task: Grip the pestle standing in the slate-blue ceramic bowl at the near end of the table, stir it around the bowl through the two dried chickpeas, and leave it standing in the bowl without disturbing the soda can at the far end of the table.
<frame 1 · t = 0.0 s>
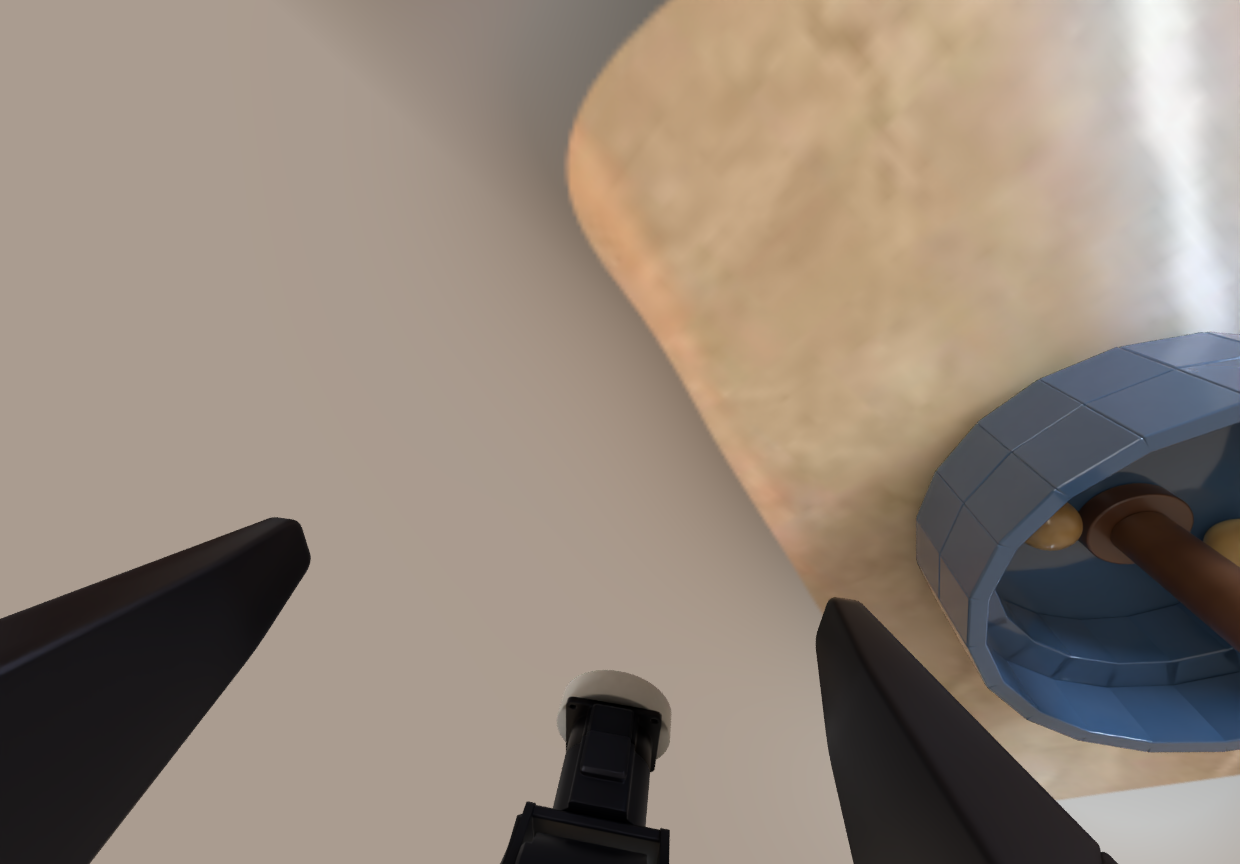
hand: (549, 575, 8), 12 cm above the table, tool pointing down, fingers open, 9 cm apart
chickpea a: (1045, 522, 18), point 2 cm above the table, touching bowl
bowl: (1110, 508, 19), on the table
pestle: (1122, 517, 18), point 1 cm above the table, touching bowl
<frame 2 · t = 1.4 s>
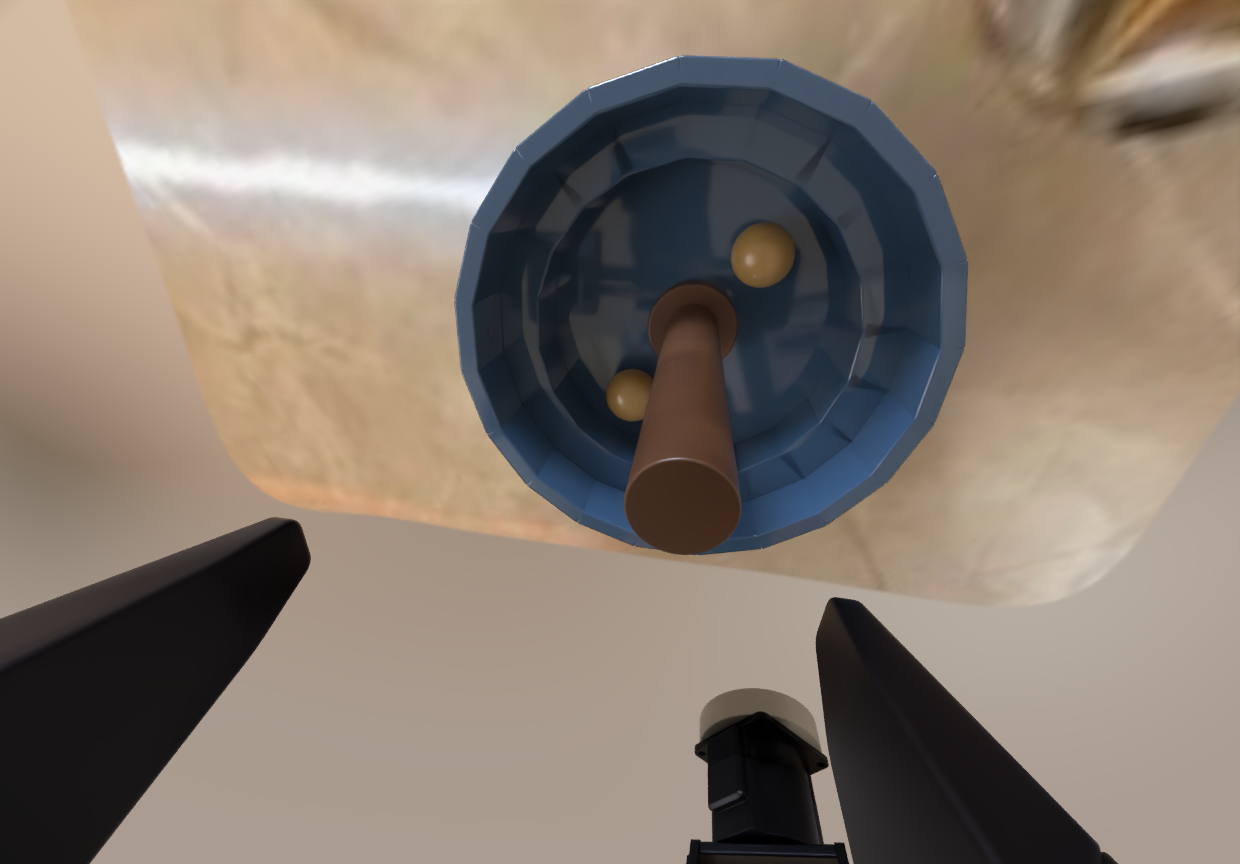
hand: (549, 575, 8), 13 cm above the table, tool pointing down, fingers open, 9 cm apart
chickpea b: (762, 255, 16), point 2 cm above the table, touching bowl
chickpea a: (632, 395, 18), point 2 cm above the table, touching bowl
bowl: (692, 320, 18), on the table
pestle: (692, 324, 18), point 1 cm above the table, touching bowl
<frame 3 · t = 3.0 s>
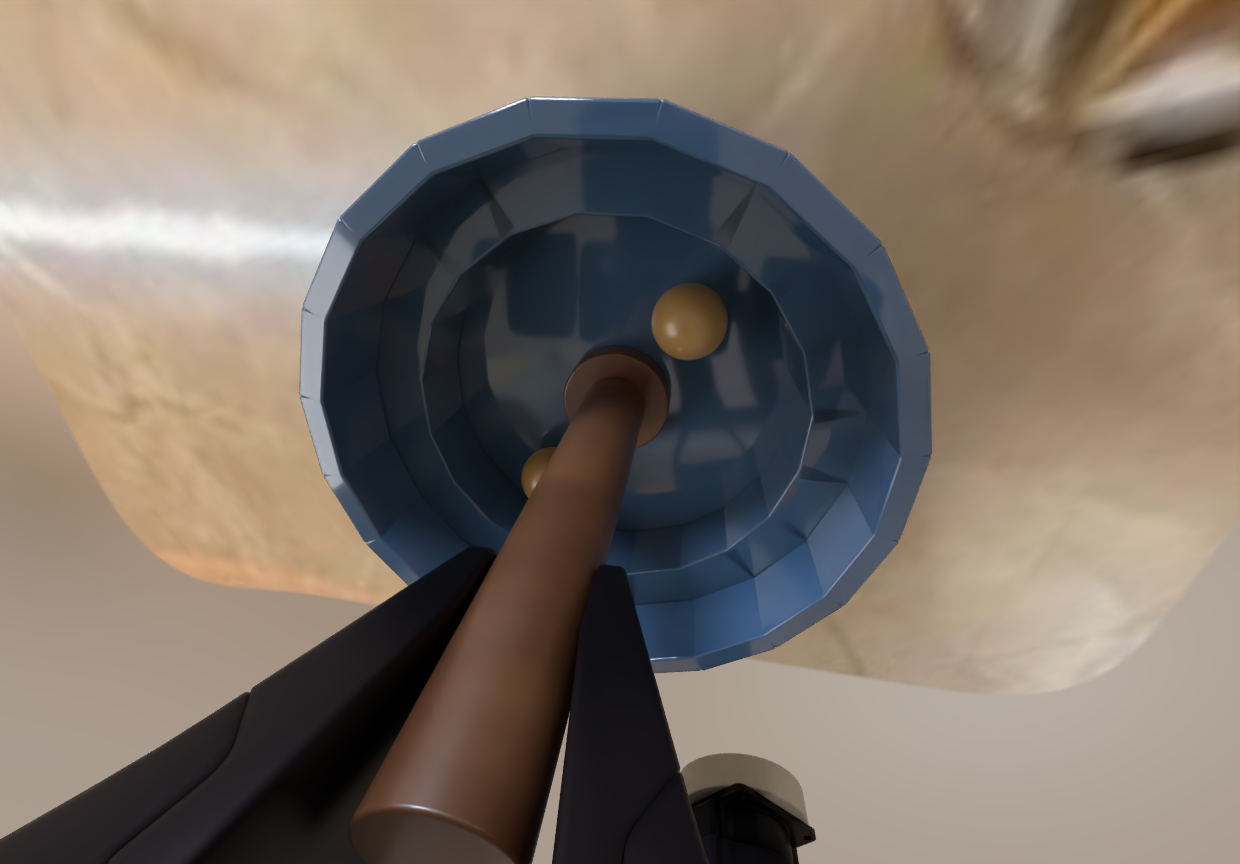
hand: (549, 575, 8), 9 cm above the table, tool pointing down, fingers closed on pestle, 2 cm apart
chickpea b: (689, 322, 13), point 2 cm above the table, touching bowl
chickpea a: (552, 477, 16), point 2 cm above the table, touching bowl
bowl: (621, 387, 16), on the table
pestle: (618, 395, 15), point 1 cm above the table, touching bowl, gripper
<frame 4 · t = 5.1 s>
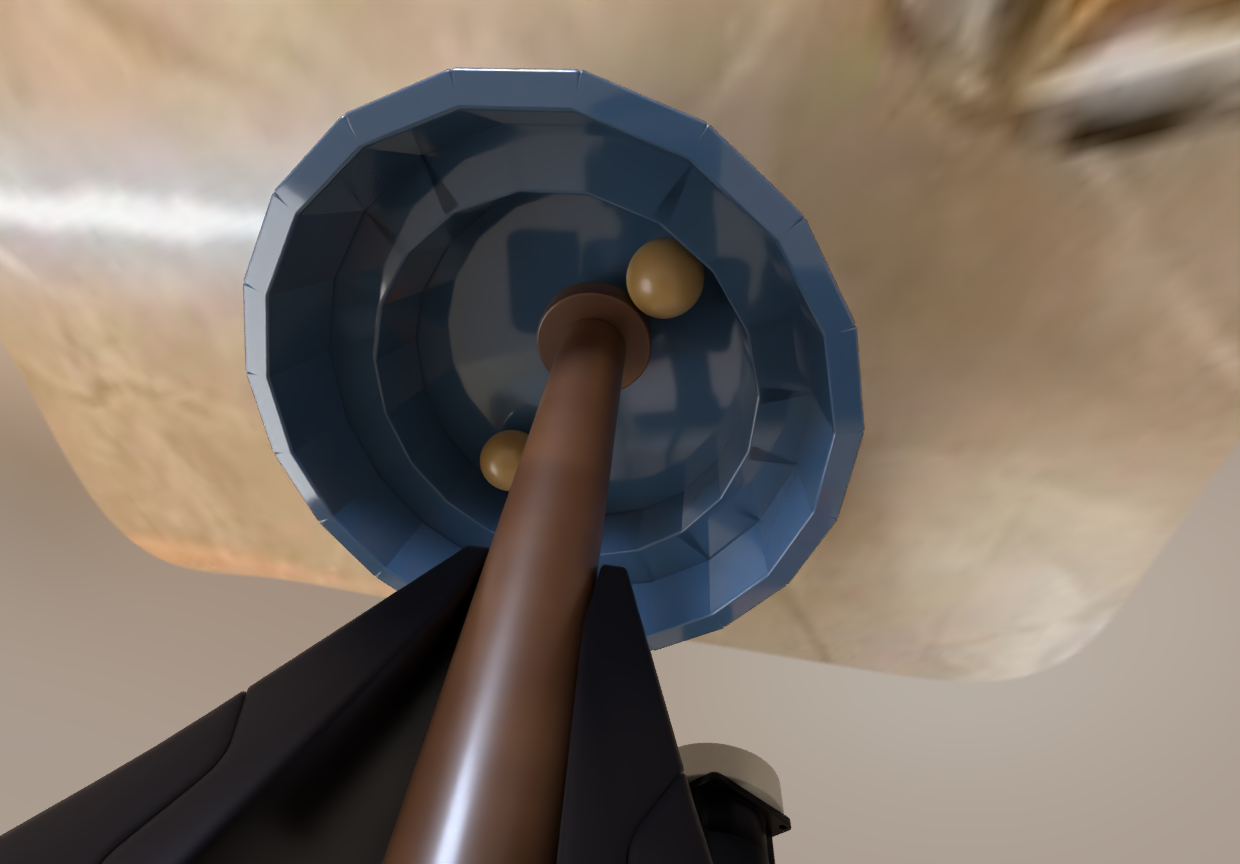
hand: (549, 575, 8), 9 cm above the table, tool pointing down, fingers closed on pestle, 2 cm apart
chickpea b: (665, 279, 12), point 2 cm above the table, tilted 48°, touching bowl, pestle
chickpea a: (511, 460, 16), point 2 cm above the table, touching bowl
bowl: (580, 371, 16), on the table
pestle: (596, 334, 14), point 1 cm above the table, tilted 13°, touching chickpea b, gripper
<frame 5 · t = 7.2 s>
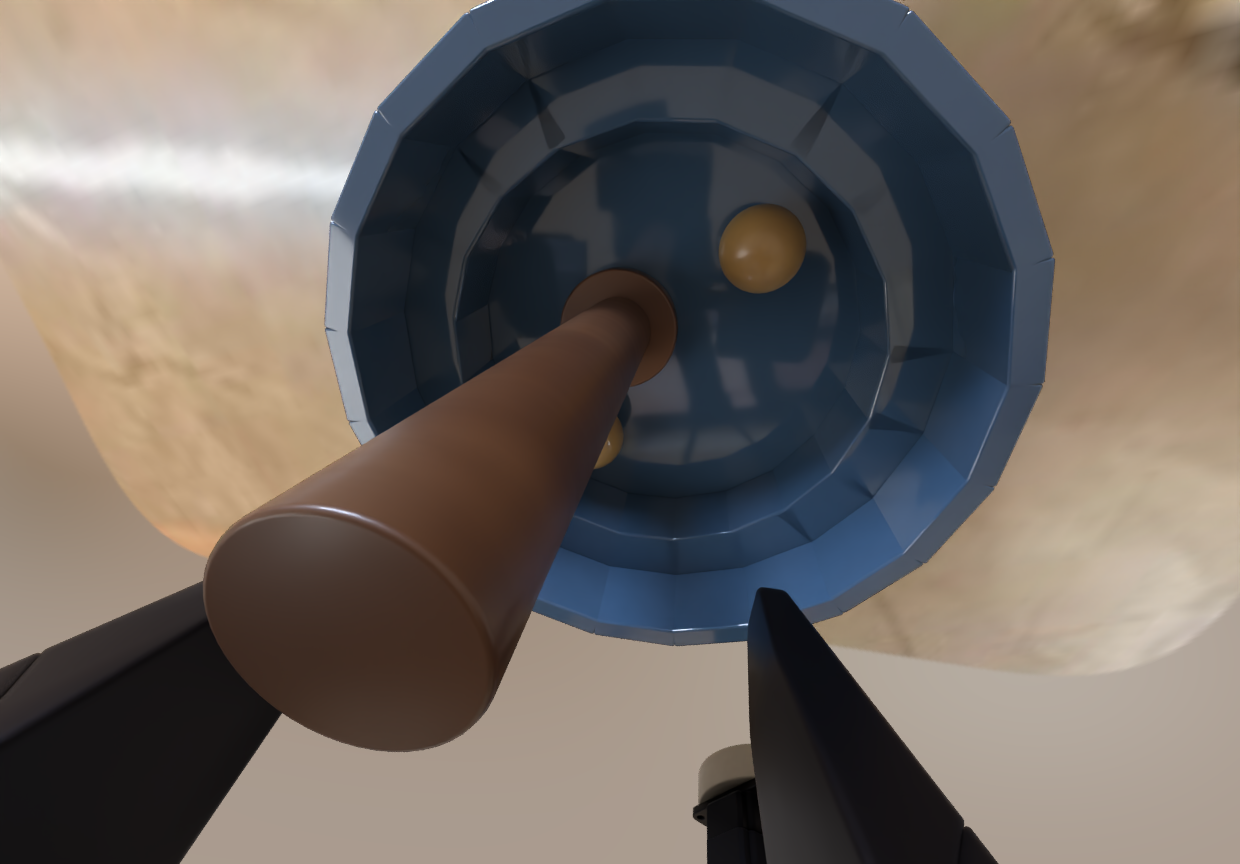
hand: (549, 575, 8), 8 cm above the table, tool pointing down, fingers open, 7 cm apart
chickpea b: (761, 249, 11), point 2 cm above the table, tilted 12°, touching bowl
chickpea a: (590, 436, 14), point 2 cm above the table, touching bowl
bowl: (664, 339, 14), on the table
pestle: (621, 326, 14), point 1 cm above the table, tilted 6°, touching bowl
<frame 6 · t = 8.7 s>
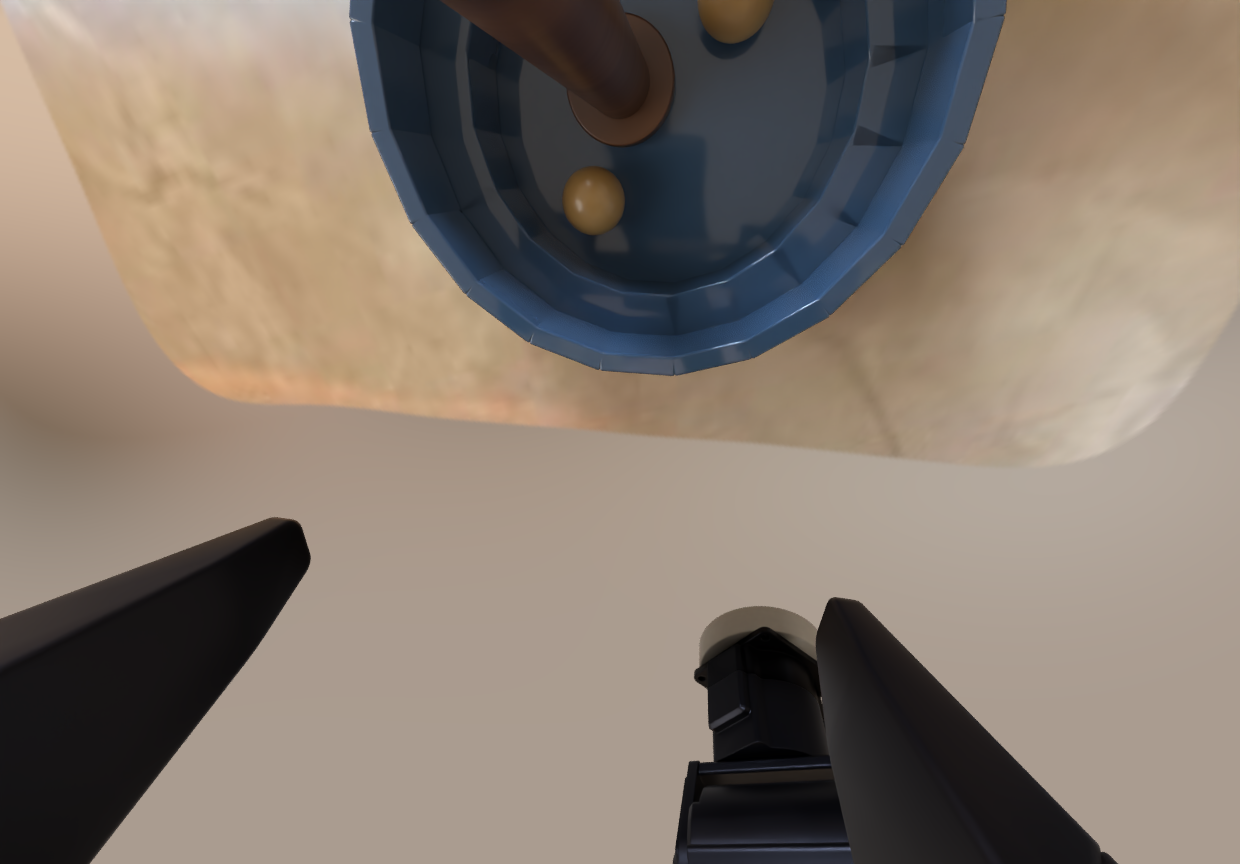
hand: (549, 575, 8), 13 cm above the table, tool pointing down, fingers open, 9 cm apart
chickpea a: (593, 201, 15), point 2 cm above the table, touching bowl
bowl: (663, 108, 15), on the table
pestle: (622, 86, 15), point 1 cm above the table, touching bowl
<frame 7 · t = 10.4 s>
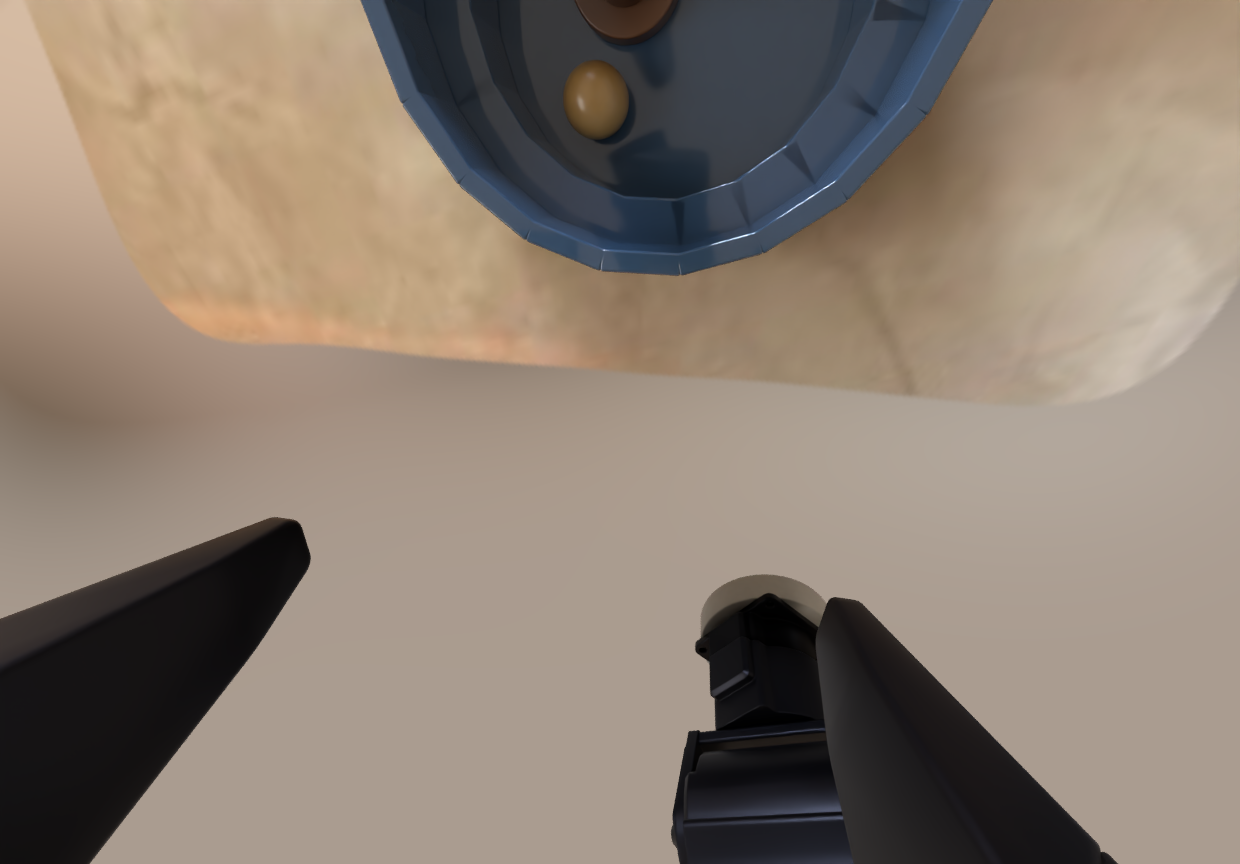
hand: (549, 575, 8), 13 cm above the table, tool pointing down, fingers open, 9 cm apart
chickpea a: (596, 101, 15), point 2 cm above the table, touching bowl
bowl: (670, 5, 15), on the table
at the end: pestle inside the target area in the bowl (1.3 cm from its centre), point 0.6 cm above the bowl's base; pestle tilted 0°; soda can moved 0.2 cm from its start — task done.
